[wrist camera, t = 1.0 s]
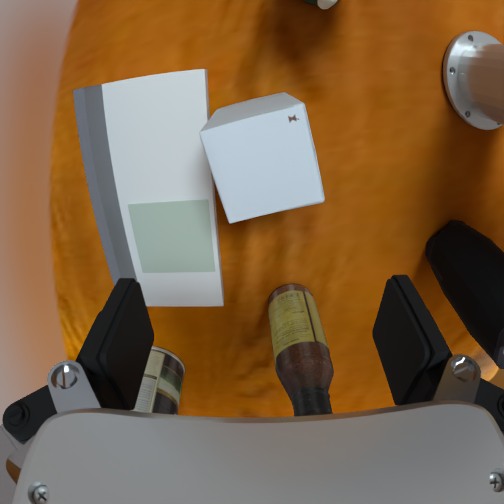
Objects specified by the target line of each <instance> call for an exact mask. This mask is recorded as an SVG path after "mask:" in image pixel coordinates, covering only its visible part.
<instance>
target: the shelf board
mask: <svg viewBox="0 0 504 504" xmlns="http://www.w3.org/2000/svg"><path fill="white" fill-rule="evenodd" d="M102 93H103V103H104V111H105V120H106V128H107V135H108V142H109V149H110V155H111V161H112V167H113V173H114V179H115V184H116V190H117V195H118V200H119V205H120V210H121V215H122V219H123V224H124V228H125V233H126V237H127V242H128V246H129V250H130V254H131V258H132V262H133V266H134V270H135V274H136V277H137V281H138V282H139V283H140V285H141V289H142V293H143V297H144V300H145V304H146V306H223V305H224V288H223V278H222V268H221V257H220V246H219V235H218V224H217V212H216V199H215V187H214V179H213V176H212V173H211V170H210V167H209V164H208V160H207V157H206V154H205V151H204V148H203V145H202V142H201V139H200V135H199V132H200V131H201V129H202V128H203V127H204V125H205V124H206V123H207V122H208V120H209V119H210V113H209V95H208V76H207V69H199V70H188V71H179V72H171V73H163V74H156V75H150V76H143V77H137V78H132V79H126V80H121V81H116V82H111V83H106V84H102Z"/></svg>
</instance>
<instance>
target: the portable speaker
mask: <svg viewBox="0 0 504 504" xmlns="http://www.w3.org/2000/svg"><path fill="white" fill-rule="evenodd" d="M426 256H427V259H428V261H429V263H430V265H431V268H432V270H433V272H434V274H435V276H436V278H437V280H438V282H439V284H440V286H441V289H442V291H443V293H444V294H445V296H446V297H447V299H448V300H449V302H450V303H451V305H452V306H453V308H454V309H455V311H456V312H457V314H458V316H459V317H460V319H461V320H462V322H463V323H464V325H465V327H466V328H467V330H468V331H469V333H470V335H471V336H472V337H473V338H474V339H475V340H476V341H477V342H478V343H479V345H480V346H481V347H482V348H483V349H484V350H485V351H486V353H487V354H488V355H489V356H490V357H491V358H492V360H494V362H495V363H496V365H497V366H498V367H499V368H500V369H504V252H503V251H502V250H501V249H500V248H499V247H498V246H497V245H496V244H495V243H493V242H492V241H491V240H490V239H489V238H487V237H486V236H484V235H483V234H481V233H479V232H478V231H476V230H475V229H473V228H471V227H470V226H467V225H466V224H465V223H463V222H462V221H453V220H451V221H450V223H449V225H448V226H447V227H445V228H444V229H443V230H442V231H441V232H439V234H438V235H436V236H435V237H433V238H430V239H429V241H428V242H427V246H426Z"/></svg>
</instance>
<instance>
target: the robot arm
mask: <svg viewBox="0 0 504 504" xmlns="http://www.w3.org/2000/svg"><path fill="white" fill-rule="evenodd" d="M443 78H444V85H445V89H446V93H447V95H448V98H449V101H450V102H451V104H452V106H453V108H454V110H455V111H456V112H457V114H458V115H459V116H460V117H461V118H462V119H463V120H464V121H465V122H467V123H468V124H470V125H471V126H474V127H476V128H479V129H483V130H493V129H496V128H499V127H500V126H502V125H504V44H501V43H500V42H499V41H498V40H496V39H495V38H494V37H492V36H491V35H489V34H487V33H484V32H480V31H469V32H464V33H462V34H459V35H458V36H457V37H455V38H454V39H453V40H452V42H451V43H450V44H449V46H448V49H447V51H446V53H445V58H444V62H443ZM373 339H374V342H375V345H376V348H377V351H378V354H379V356H380V359H381V362H382V365H383V368H384V371H385V374H386V378H387V381H388V384H389V387H390V390H391V393H392V397H393V400H394V403H395V405H399V406H394V407H387V408H380V409H372V410H365V411H356V412H347V413H338V414H326V415H313V416H296V417H268V418H230V417H201V416H184V415H171V414H159V413H148V412H138V411H130V410H134V408H135V405H136V402H137V398H138V394H139V390H140V387H141V383H142V379H143V376H144V372H145V369H146V365H147V362H148V358H149V355H150V352H151V348H152V345H153V341H154V332H153V328H152V325H151V322H150V318H149V315H148V311H147V307H146V304H145V300H144V297H143V293H142V289H141V285H140V283H139V282H136V280H135V279H134V278H119V279H118V281H117V283H116V285H115V287H114V289H113V290H112V292H111V294H110V296H109V298H108V300H107V302H106V304H105V306H104V308H103V310H102V311H100V312H99V314H98V315H97V317H96V319H95V321H94V323H93V325H92V327H91V329H90V331H89V333H88V335H87V338H86V340H85V342H84V344H83V346H82V348H81V350H80V352H79V354H78V357H77V359H76V361H71V360H69V361H63V362H60V363H58V364H57V365H55V366H54V367H53V368H52V369H51V370H50V372H49V374H48V378H47V382H48V385H46V386H44V387H42V388H40V389H39V390H37V391H35V392H33V393H31V394H29V395H27V396H26V397H24V398H22V399H20V400H18V401H16V402H14V403H13V404H11V405H10V406H9V407H8V408H7V409H6V410H5V412H4V415H3V424H2V425H1V426H0V504H504V390H503V389H501V388H499V387H497V386H495V385H493V384H491V383H490V382H488V381H486V380H484V379H482V378H481V370H480V367H479V365H478V363H477V362H476V361H475V360H474V359H473V358H471V357H469V356H467V355H463V354H457V355H454V356H453V355H452V353H451V351H450V349H449V347H448V345H447V343H446V341H445V340H444V338H443V336H442V334H441V332H440V330H439V328H438V326H437V325H436V323H435V321H434V319H433V317H432V316H431V314H430V312H429V310H428V309H427V308H426V306H425V304H424V302H423V301H422V299H421V297H420V295H419V294H418V292H417V290H416V289H415V287H414V285H413V283H412V282H411V280H410V279H409V277H408V276H407V275H393V276H392V277H391V279H388V280H387V282H386V286H385V290H384V293H383V297H382V301H381V304H380V308H379V311H378V314H377V318H376V321H375V324H374V327H373Z"/></svg>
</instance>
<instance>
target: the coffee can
mask: <svg viewBox="0 0 504 504" xmlns="http://www.w3.org/2000/svg"><path fill="white" fill-rule="evenodd" d="M184 374H185V367H184V364H183V363H182V361H181V360H180V359H179V358H178V357H177V356H176V355H175V354H173V353H171V352H170V351H168V350H165V349H163V348H160V347H156V346H152V348H151V352H150V355H149V358H148V362H147V365H146V369H145V372H144V376H143V379H142V383H141V387H140V390H139V394H138V398H137V402H136V405H135V408H134V410H130V411H138V412H148V413H159V414H171V415H177V414H178V408H179V401H180V395H181V389H182V383H183V377H184Z"/></svg>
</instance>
